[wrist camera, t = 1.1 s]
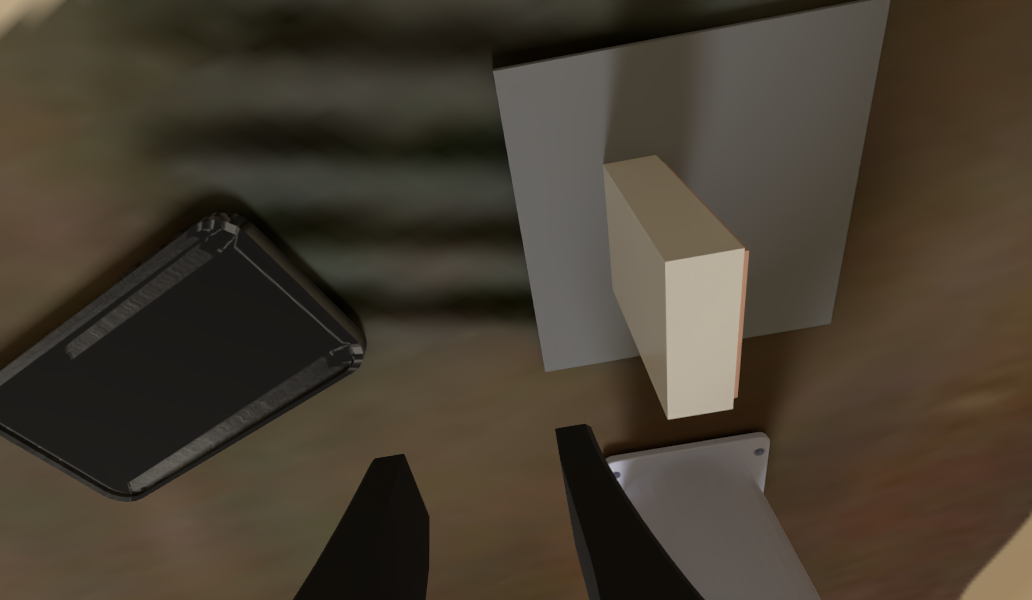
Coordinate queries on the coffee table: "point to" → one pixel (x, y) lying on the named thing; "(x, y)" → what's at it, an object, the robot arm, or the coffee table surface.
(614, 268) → the tile
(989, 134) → the coffee table surface
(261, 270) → the phone
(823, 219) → the mat
